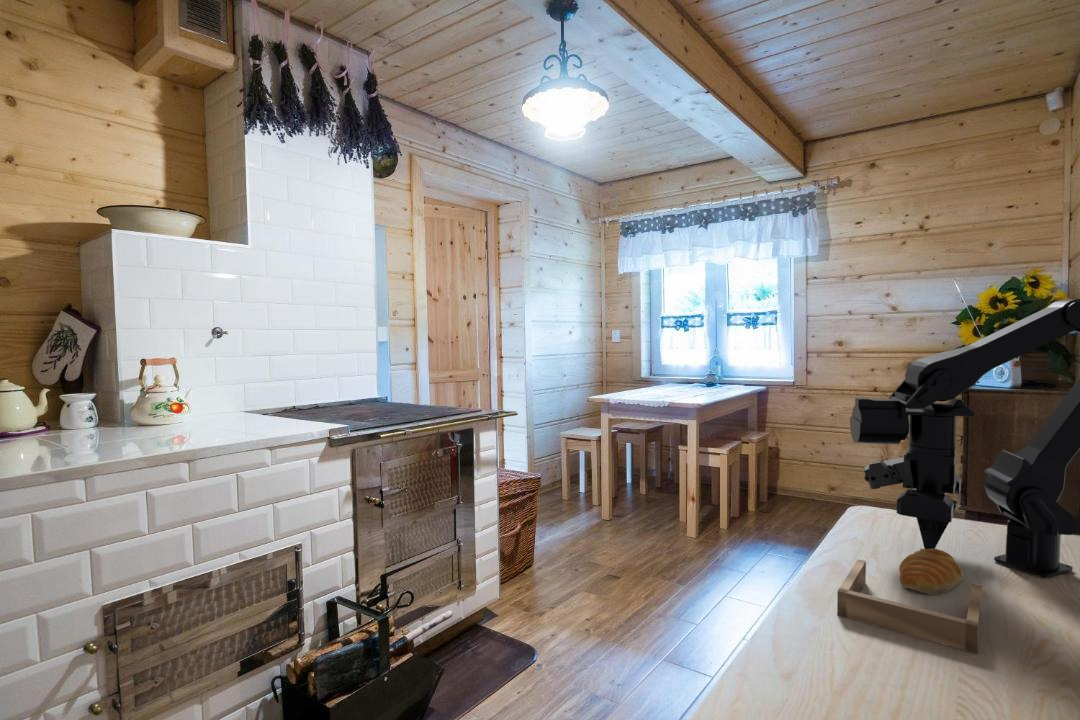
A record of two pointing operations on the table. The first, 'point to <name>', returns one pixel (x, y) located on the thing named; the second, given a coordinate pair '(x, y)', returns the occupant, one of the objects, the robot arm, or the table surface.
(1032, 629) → the table surface
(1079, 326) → the robot arm
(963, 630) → the wooden frame
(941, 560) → the pastry
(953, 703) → the table surface
